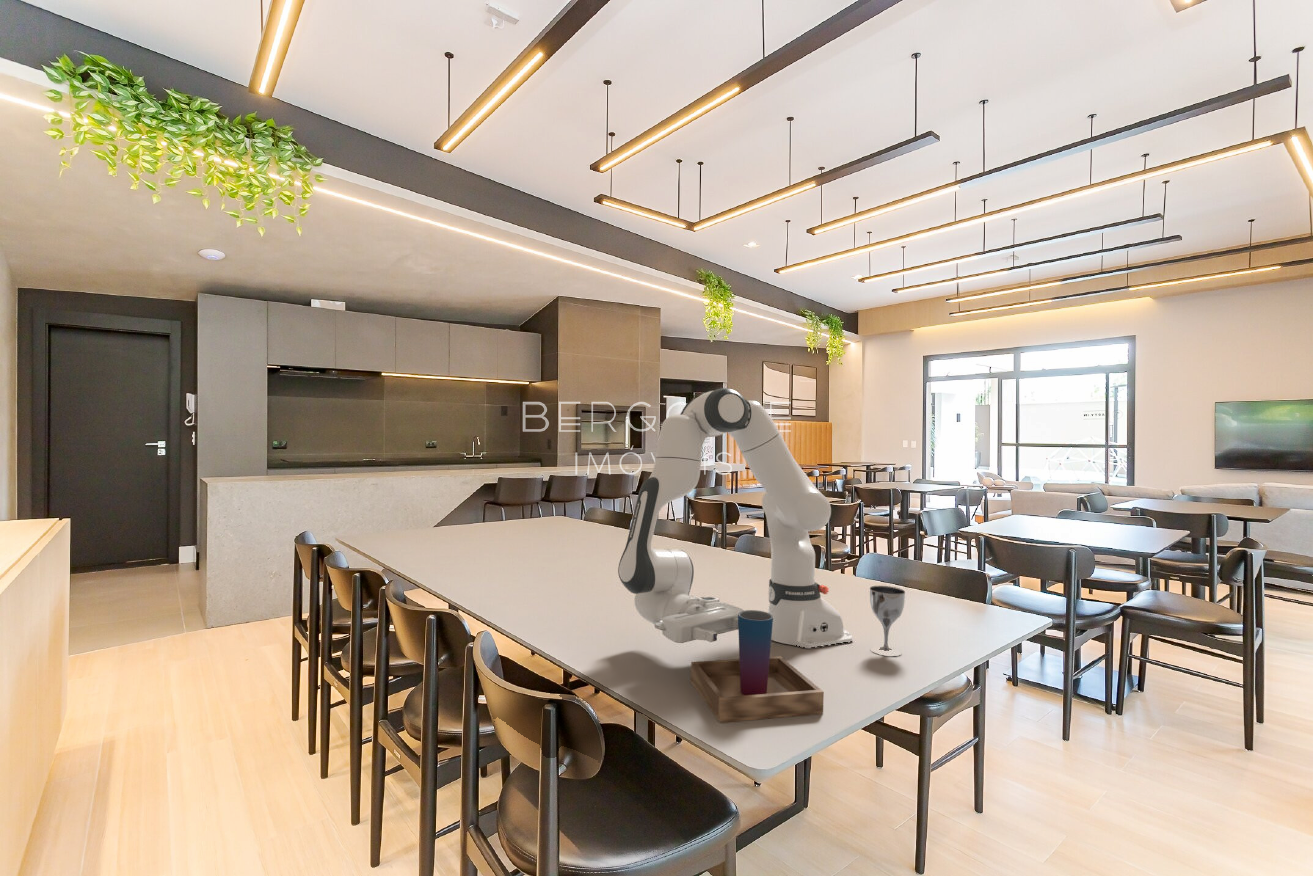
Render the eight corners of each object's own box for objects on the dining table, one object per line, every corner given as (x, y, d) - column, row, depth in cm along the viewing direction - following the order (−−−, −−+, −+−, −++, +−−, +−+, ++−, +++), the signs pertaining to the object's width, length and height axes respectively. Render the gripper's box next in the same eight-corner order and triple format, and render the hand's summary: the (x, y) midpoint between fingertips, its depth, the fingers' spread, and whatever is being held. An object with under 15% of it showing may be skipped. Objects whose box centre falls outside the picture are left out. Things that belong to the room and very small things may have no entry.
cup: (770, 702, 109) (772, 621, 109) (734, 697, 110) (736, 618, 110) (771, 687, 115) (773, 611, 115) (737, 683, 117) (739, 608, 117)
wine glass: (862, 646, 144) (864, 585, 144) (893, 645, 145) (894, 585, 145) (877, 657, 136) (879, 593, 136) (910, 657, 137) (911, 594, 137)
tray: (780, 675, 124) (780, 656, 124) (823, 713, 107) (823, 691, 107) (690, 681, 120) (691, 661, 120) (720, 722, 102) (720, 700, 102)
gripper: (650, 609, 123) (693, 626, 112) (720, 596, 135) (765, 610, 124) (649, 639, 123) (692, 659, 112) (719, 623, 135) (764, 639, 124)
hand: (731, 633), depth 118 cm, fingers open, 8 cm apart
